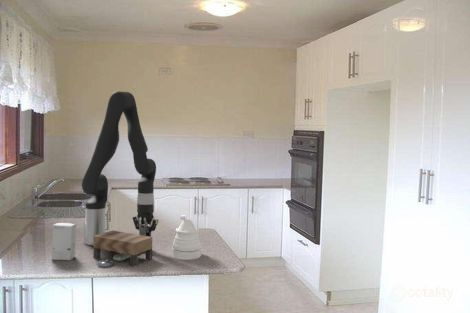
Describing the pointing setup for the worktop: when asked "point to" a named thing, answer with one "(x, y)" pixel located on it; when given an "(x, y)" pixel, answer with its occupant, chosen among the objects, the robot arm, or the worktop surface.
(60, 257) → the skincare box
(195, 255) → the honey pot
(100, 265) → the disc
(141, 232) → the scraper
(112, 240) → the walnut table
